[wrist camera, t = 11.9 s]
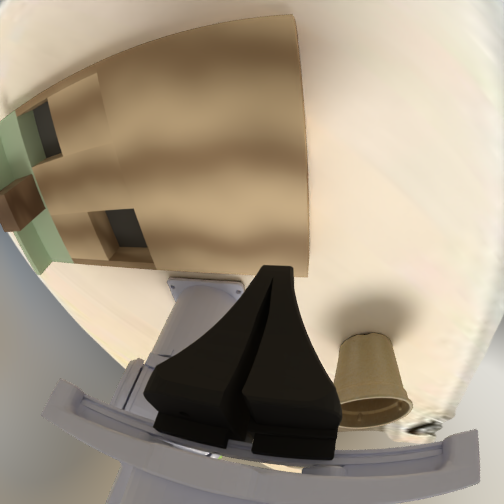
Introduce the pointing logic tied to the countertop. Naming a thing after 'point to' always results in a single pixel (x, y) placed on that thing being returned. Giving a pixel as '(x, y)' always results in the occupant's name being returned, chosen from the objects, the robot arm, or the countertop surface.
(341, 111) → the countertop surface
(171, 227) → the box
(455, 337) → the countertop surface
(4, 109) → the countertop surface
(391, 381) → the flower pot
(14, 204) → the walnut block
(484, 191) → the countertop surface
